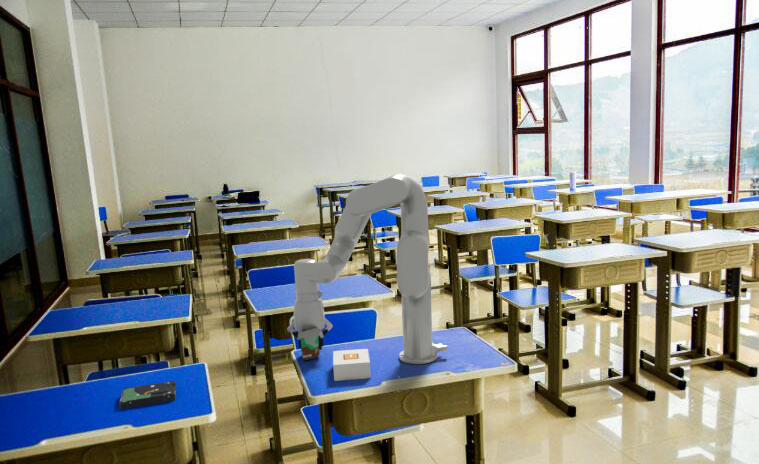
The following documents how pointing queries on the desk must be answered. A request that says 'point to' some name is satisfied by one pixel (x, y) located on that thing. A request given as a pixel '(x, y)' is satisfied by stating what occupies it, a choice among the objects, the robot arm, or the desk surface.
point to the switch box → (351, 365)
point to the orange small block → (351, 356)
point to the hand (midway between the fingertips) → (311, 348)
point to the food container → (310, 343)
